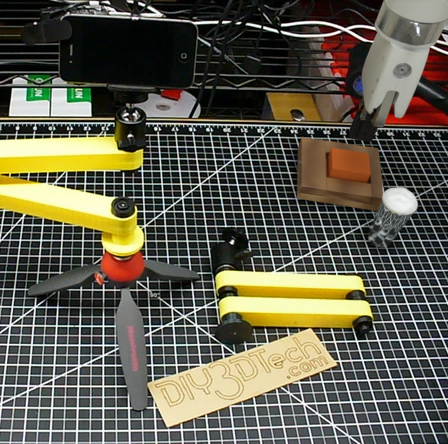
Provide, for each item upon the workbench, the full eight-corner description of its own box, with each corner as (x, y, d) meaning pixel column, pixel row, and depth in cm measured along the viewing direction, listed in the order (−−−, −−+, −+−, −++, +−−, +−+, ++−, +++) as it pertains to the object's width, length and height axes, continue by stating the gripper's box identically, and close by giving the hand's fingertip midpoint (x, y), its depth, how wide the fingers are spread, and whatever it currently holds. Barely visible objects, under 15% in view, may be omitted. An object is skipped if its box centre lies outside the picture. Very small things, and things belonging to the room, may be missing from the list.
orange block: (362, 167, 90) (368, 153, 88) (364, 188, 87) (370, 174, 85) (326, 161, 91) (331, 147, 88) (326, 182, 88) (332, 168, 85)
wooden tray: (372, 161, 93) (378, 148, 91) (377, 211, 86) (384, 198, 84) (297, 149, 94) (301, 136, 92) (296, 198, 87) (301, 185, 85)
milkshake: (362, 219, 85) (387, 171, 77) (398, 235, 83) (427, 187, 76) (352, 240, 82) (377, 191, 75) (389, 256, 81) (418, 209, 73)
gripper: (452, 60, 64) (391, 177, 78) (433, -6, 74) (381, 108, 88) (384, 50, 65) (335, 168, 79) (374, -15, 74) (332, 100, 88)
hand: (359, 136), depth 83 cm, fingers closed
